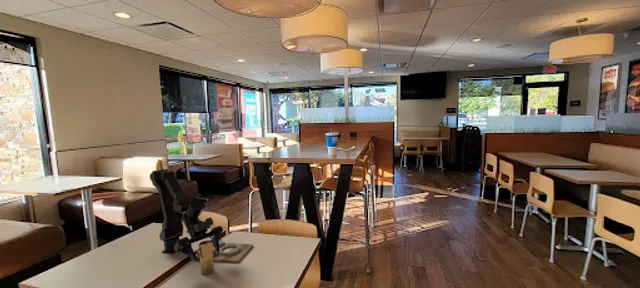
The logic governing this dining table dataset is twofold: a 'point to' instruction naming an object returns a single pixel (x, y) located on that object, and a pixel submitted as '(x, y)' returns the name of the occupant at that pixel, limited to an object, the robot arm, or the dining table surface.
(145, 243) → the dining table surface
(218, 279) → the dining table surface
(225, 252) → the shaft board
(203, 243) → the brass sleeve
